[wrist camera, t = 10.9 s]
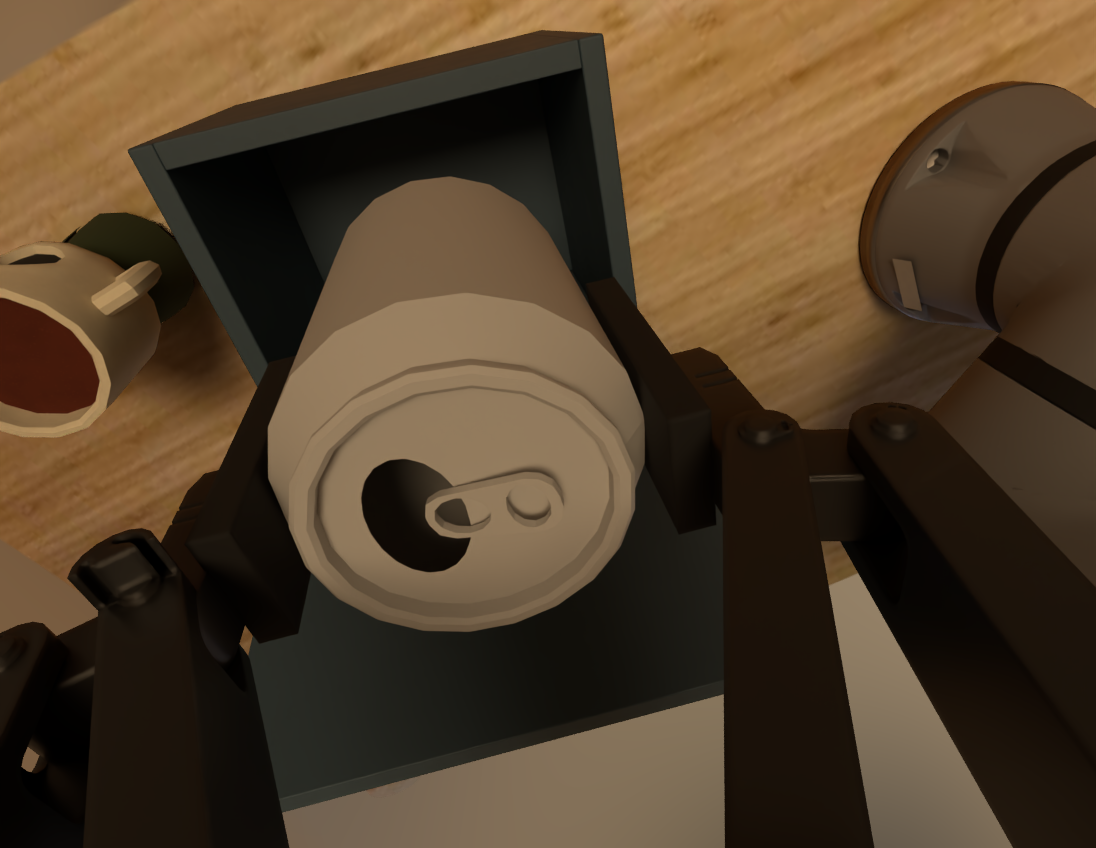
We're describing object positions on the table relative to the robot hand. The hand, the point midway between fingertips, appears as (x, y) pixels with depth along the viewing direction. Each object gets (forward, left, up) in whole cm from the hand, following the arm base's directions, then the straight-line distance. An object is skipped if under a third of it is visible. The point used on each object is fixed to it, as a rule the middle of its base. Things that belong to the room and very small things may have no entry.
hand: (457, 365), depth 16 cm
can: (0, 0, -6) cm, 6 cm away
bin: (+1, +1, -24) cm, 24 cm away
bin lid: (+1, +8, -2) cm, 8 cm away
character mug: (+18, +1, -24) cm, 30 cm away
